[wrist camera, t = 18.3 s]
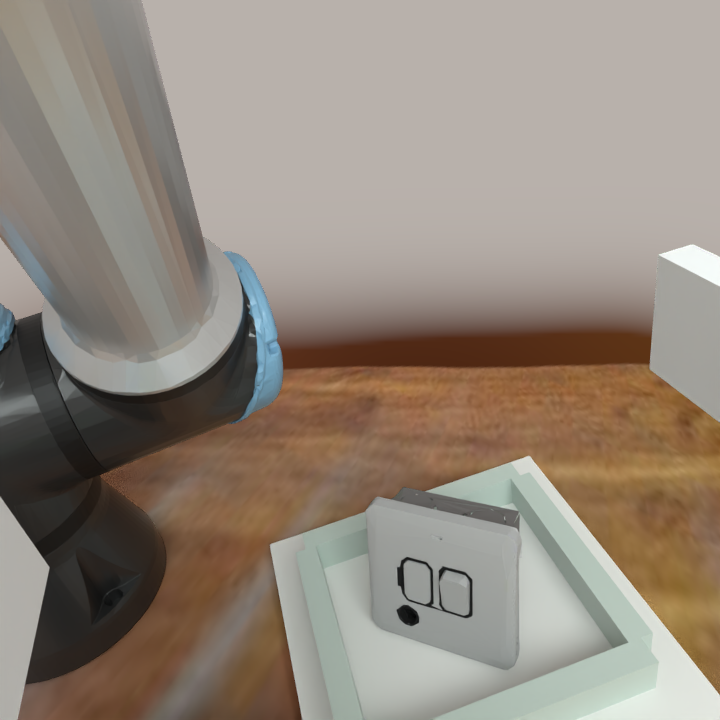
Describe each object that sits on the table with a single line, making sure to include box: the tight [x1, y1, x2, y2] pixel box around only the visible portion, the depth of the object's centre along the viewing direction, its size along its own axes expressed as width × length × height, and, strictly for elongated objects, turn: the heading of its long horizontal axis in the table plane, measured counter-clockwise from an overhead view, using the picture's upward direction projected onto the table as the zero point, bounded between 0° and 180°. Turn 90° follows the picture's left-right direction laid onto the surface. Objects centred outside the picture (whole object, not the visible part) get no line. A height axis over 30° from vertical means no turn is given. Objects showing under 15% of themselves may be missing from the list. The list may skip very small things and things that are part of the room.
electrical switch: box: [366, 487, 522, 670], centre depth 38 cm, size 9×5×9 cm, turn 64°
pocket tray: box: [270, 456, 720, 720], centre depth 40 cm, size 22×22×4 cm
